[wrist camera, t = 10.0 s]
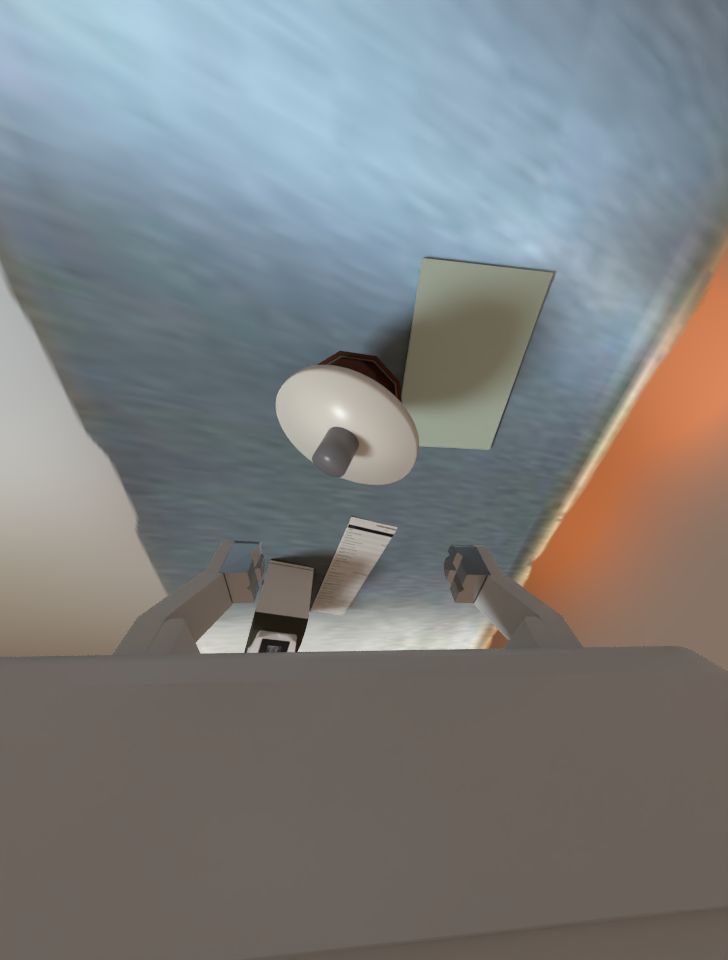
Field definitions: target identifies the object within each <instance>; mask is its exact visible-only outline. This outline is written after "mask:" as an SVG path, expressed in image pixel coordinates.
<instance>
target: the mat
mask: <svg viewBox="0 0 728 960" xmlns="http://www.w3.org/2000/svg"><path fill="white" fill-rule="evenodd" d="M552 276H553V273H551V272H542V271H534V270H525V269H516V268H507V267H498V266H489V265H480V264H471V263H462V262H454V261H445V260H436V259H427V258H422V259H421V266H420V272H419V279H418V286H417V292H416V299H415V306H414V312H413V319H412V325H411V332H410V339H409V345H408V352H407V359H406V365H405V372H404V379H403V385H402V392H401V399H402V404H403V406H404V407H405V408H406V409H407V411H408V412H409V414H410V415H411V417H412V419H413V421H414V423H415V425H416V428H417V432H418V436H419V446H427V447H446V448H466V449H486V450H490V447H491V445H492V442H493V439H494V436H495V434H496V431H497V428H498V425H499V422H500V420H501V417H502V414H503V411H504V409H505V406H506V403H507V400H508V398H509V395H510V392H511V389H512V386H513V384H514V381H515V378H516V375H517V373H518V370H519V367H520V364H521V361H522V359H523V356H524V353H525V350H526V348H527V345H528V342H529V339H530V337H531V334H532V331H533V328H534V325H535V323H536V320H537V317H538V314H539V312H540V309H541V306H542V303H543V301H544V298H545V295H546V292H547V289H548V287H549V284H550V281H551V278H552Z"/></svg>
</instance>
